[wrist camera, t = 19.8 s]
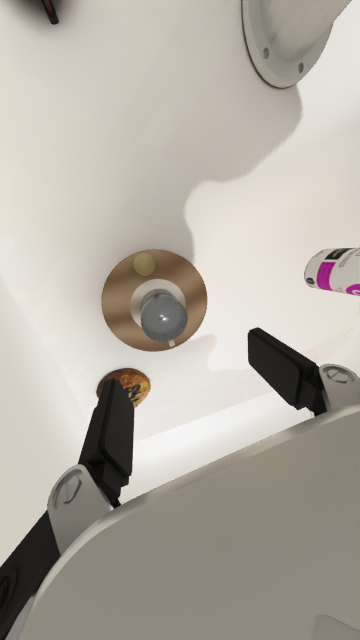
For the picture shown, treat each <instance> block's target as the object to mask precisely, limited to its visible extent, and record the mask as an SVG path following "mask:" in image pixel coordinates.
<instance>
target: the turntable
mask: <svg viewBox="0 0 360 640" xmlns="http://www.w3.org/2000/svg"><path fill="white" fill-rule="evenodd" d="M153 289H165V290H168V291H169V292H171V293H172V294H173V295H174V296H175V297H176V298H177V300H178V301H179V302H180V303H181V304H182V305H183V306H184V308H185V309H186V311H187V315H188V322H187V326H186V328H185V330H184V331H183V333H182V334H181V335H180V336H178V337H177V338H175V339H173V340H171V341H167V342H159V341H155V340H153V339H151V338H149V337H148V336H147V335H146V334H145V333H144V331H143V329H142V326H141V311H140V305H141V301H142V298H143V297H144V296H145V294H146V293H148V292H149V291H151V290H153ZM206 309H207V292H206V287H205V284H204V281H203V279H202V277H201V276H200V274H199V273H198V271H197V270H196V268H195V267H194V266H193V265H192V264H191V263H190V262H189V261H187V260H186V259H184V258H183V257H181V256H179V255H177V254H174V253H172V252H168V251H163V250H147V251H142V252H139V253H136V254H133V255H131V256H129V257H127V258H126V259H124V260H123V261H122V262H120V263H119V264H118V265H117V266H116V267H115V268H114V269H113V270H112V272H111V273H110V275H109V276H108V278H107V280H106V282H105V285H104V288H103V292H102V311H103V315H104V318H105V321H106V323H107V325H108V327H109V328H110V330H111V331H112V332H113V333H114V335H115V336H116V337H117V338H119V339H120V340H121V341H122V342H124V343H125V344H127V345H129V346H131V347H133V348H136V349H139V350H143V351H155V352H156V351H164V350H168V349H172V348H174V347H177V346H179V345H181V344H182V343H184V342H185V341H187V340H188V339H189V338H190V337H191V336H192V335H193V334H194V333H195V332H196V331H197V330H198V328H199V326H200V325H201V323H202V321H203V319H204V316H205V313H206Z"/></svg>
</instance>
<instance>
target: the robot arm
mask: <svg viewBox="0 0 360 640" xmlns="http://www.w3.org/2000/svg"><path fill="white" fill-rule="evenodd" d="M350 1H351V0H243V22H244V31H245V36H246V41H247V45H248V49H249V52H250V55H251V58H252V61H253V63H254V65H255V66H256V68H257V70H258V72H259V73H260V74H261V76H262V77H263V78H264V79H265V80H266V81H267V82H268V83H270V84H271V85H273V86H276V87H289V86H292V85H294V84H296V83H297V82H298V81H300V80H301V79H302V78H303V77H304V76H305V75H306V74H307V73H308V72H309V71H310V69H311V68H312V67H313V66H314V64H315V63H316V62H317V60H318V59H319V57H320V55H321V53H322V52H323V50H324V47H325V45H326V43H327V41H328V38H329V35H330V32H331V29H332V26H333V23H334V20H335V19H336V18H337V17H338V16H339V15H340V13H341V12H342V11H343V10H344V8H345V7H346V6H347V5H348V4H349V3H350ZM248 361H249V364H250V365H251V366H252V367H253V368H254V369H255V370H256V371H257V372H258V373H259V374H260V375H261V376H262V377H263V378H264V379H265V380H266V382H267V383H268V384H269V385H270V386H271V387H272V388H273V389H274V390H275V391H276V392H277V393H278V394H279V395H280V396H281V397H282V398H283V399H284V400H285V401H286V402H287V403H288V404H289V405H291V406H294V407H295V408H296V409H297V410H299V409H302V408H304V407H306V408H308V409H309V410H310V413H311V419H309V420H306V421H304V422H301V423H299V424H297V425H295V426H292V427H290V428H288V429H286V430H284V431H281V432H279V433H277V434H274V435H272V436H270V437H267V438H265V439H263V440H261V441H259V442H256V443H254V444H252V445H250V446H247V447H245V448H243V449H241V450H238V451H236V452H234V453H232V454H229V455H228V456H225V457H223V458H221V459H218V460H216V461H214V462H212V463H210V464H208V465H205V466H203V467H201V468H198V469H196V470H194V471H192V472H190V473H188V474H185V475H183V476H181V477H179V478H177V479H174V480H172V481H170V482H168V483H166V484H163V485H161V486H159V487H157V488H155V489H153V490H151V491H149V492H147V493H145V494H142V495H140V496H138V497H136V498H134V499H132V500H130V501H128V502H126V503H125V504H123V502H122V501H121V500H120V498H119V496H120V492H121V487H123V486H126V485H128V484H129V476H131V473H132V459H133V432H134V405H133V403H132V401H131V399H130V398H129V396H128V394H127V393H126V391H125V389H124V388H123V386H122V384H121V383H120V381H119V379H115V378H111V379H108V380H106V381H104V383H103V387H102V390H101V394H100V397H99V401H98V404H97V407H96V408H95V409H94V411H93V414H92V418H91V421H90V424H89V428H88V431H87V435H86V438H85V441H84V445H83V448H82V451H81V455H80V459H79V462H78V465H75V466H73V467H71V468H70V469H68V470H67V471H66V472H65V473H64V474H63V475H62V476H61V477H60V478H59V480H58V481H57V482H56V484H55V486H54V487H53V489H52V491H51V494H50V496H49V499H48V504H47V508H48V509H47V510H46V512H45V513H44V514H43V516H42V517H41V518H40V519H39V520H38V522H37V523H36V524H35V525H34V526H33V528H32V529H31V530H30V531H29V533H28V534H27V535H26V536H25V538H24V539H23V540H22V541H21V543H20V544H19V545H18V546H17V547H16V549H15V550H14V551H13V552H12V554H11V555H10V556H9V558H8V559H7V560H6V561H5V562H4V563H3V565H2V566H1V567H0V640H360V378H359V377H358V376H357V375H356V374H355V373H354V372H352V371H351V370H349V369H347V368H345V367H342V366H340V365H335V364H324V365H322V366H320V367H318V366H317V365H316V363H314V362H313V361H311V360H309V359H308V358H306V357H305V356H303V355H302V354H300V353H298V352H297V351H295V350H294V349H292V348H290V347H289V346H287V345H286V344H284V343H282V342H281V341H279V340H278V339H276V338H274V337H273V336H271V335H270V334H268V333H267V332H265V331H263V330H262V329H260V328H258V327H257V328H254V329H252V330H250V331H249V333H248Z"/></svg>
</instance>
